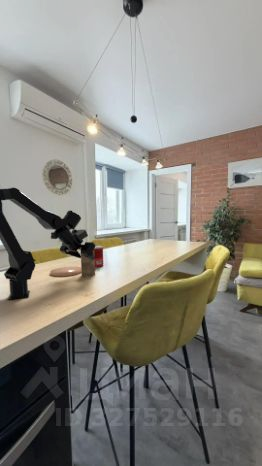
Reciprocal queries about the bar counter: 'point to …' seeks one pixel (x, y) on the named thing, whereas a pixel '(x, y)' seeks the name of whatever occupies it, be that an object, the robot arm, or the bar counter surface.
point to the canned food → (98, 256)
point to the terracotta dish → (65, 271)
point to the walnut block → (87, 266)
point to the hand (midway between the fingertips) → (87, 258)
